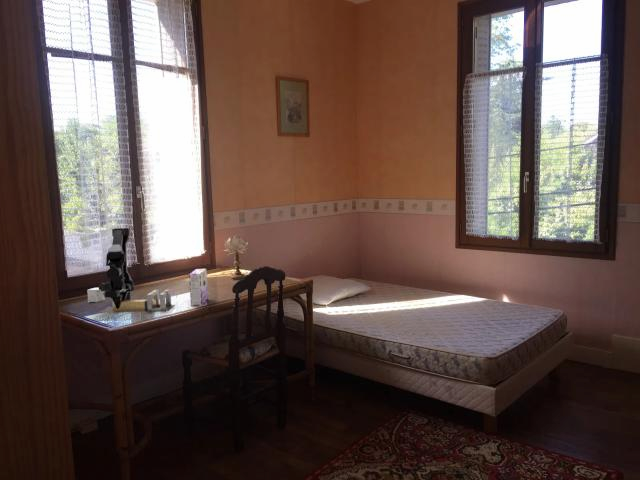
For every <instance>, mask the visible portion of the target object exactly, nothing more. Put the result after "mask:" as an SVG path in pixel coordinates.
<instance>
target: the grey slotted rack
mask: <svg viewBox="0 0 640 480" xmlns="http://www.w3.org/2000/svg"><path fill="white" fill-rule="evenodd" d="M159 292H160V291H159V289H153V290H152V291H151V292H149V293H148V294H146V300H147V305H148V310H113V306H112V305H111V306H106V307H105V308H104V309H103V308H102V309H101V310H99V311H98V312H97V313H102V314H103V313H106V314H107V313H142V312H143V313H147V312H149V313H150V312H151V313H152V312H169V311H171V310H172V309H173V308H174V307H175V306H176V304H172V293H171V289H170V288H169V289H165V290H164V291H163V292H161V293H160V294H159ZM153 299H156V308H153Z"/></svg>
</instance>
